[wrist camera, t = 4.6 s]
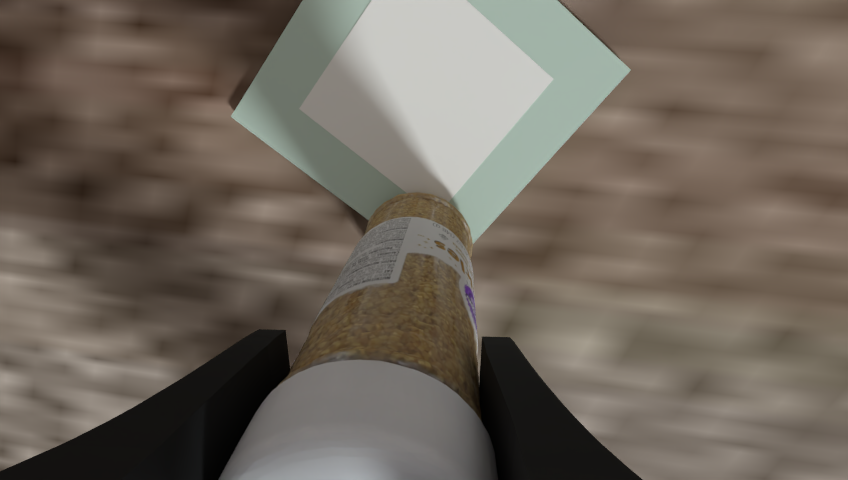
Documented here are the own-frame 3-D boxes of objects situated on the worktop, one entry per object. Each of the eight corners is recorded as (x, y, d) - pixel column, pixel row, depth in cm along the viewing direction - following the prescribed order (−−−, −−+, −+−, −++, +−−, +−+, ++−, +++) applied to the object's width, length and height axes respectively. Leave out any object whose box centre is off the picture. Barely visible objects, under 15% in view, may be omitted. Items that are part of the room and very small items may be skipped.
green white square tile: (443, 271, 21) (442, 276, 20) (237, 115, 19) (230, 116, 18) (624, 69, 18) (631, 70, 17) (398, -145, 16) (396, -153, 15)
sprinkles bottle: (489, 264, 19) (556, 625, 7) (395, 304, 20) (302, 686, 8) (441, 168, 18) (414, 397, 6) (343, 216, 19) (129, 505, 6)
